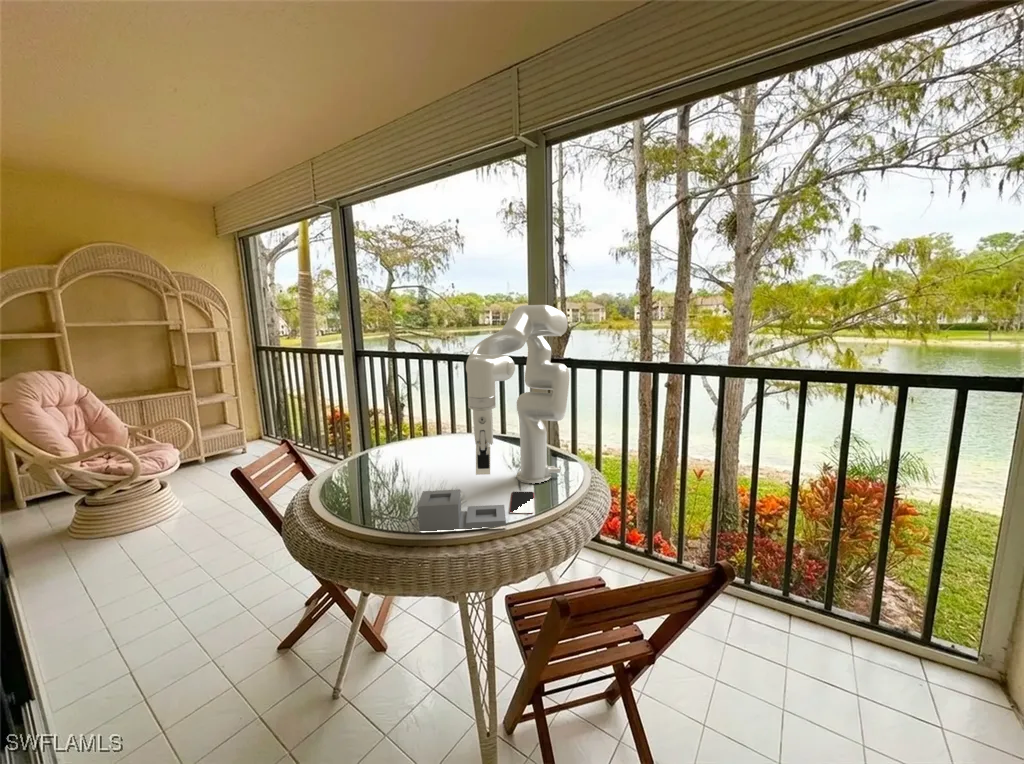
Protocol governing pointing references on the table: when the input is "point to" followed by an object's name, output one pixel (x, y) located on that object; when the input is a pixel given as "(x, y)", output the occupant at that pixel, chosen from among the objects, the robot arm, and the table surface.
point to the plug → (478, 471)
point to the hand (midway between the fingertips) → (483, 465)
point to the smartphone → (520, 499)
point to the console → (455, 512)
